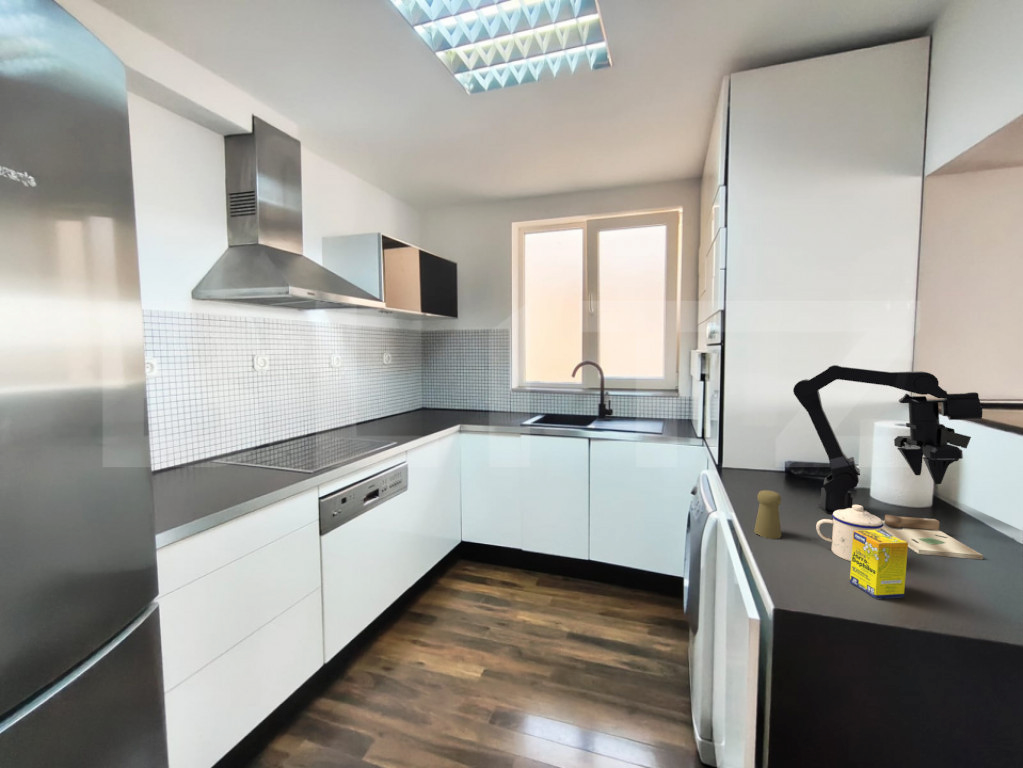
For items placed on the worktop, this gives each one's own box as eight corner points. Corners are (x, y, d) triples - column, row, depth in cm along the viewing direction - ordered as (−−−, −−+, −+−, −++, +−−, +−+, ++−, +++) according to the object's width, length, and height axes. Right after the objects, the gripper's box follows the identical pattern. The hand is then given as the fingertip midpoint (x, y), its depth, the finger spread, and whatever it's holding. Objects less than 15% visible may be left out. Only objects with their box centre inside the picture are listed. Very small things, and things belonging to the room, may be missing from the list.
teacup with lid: (877, 552, 102) (880, 503, 101) (884, 569, 94) (888, 516, 93) (814, 541, 108) (816, 494, 107) (816, 555, 100) (818, 505, 99)
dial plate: (918, 553, 101) (918, 549, 101) (874, 523, 119) (874, 519, 119) (982, 559, 98) (983, 554, 98) (927, 527, 116) (928, 523, 116)
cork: (785, 540, 109) (787, 496, 108) (758, 538, 110) (760, 494, 109) (776, 530, 114) (778, 488, 114) (750, 528, 116) (752, 487, 115)
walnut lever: (889, 526, 113) (889, 518, 113) (881, 522, 116) (882, 513, 116) (941, 530, 110) (941, 522, 110) (932, 525, 114) (933, 517, 113)
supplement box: (848, 583, 89) (851, 530, 88) (876, 581, 89) (879, 529, 88) (875, 599, 83) (879, 543, 82) (905, 598, 83) (908, 541, 82)
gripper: (989, 423, 104) (992, 489, 104) (941, 414, 121) (944, 471, 122) (929, 425, 107) (933, 489, 108) (891, 416, 125) (895, 471, 125)
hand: (927, 479), depth 115 cm, fingers open, 9 cm apart
